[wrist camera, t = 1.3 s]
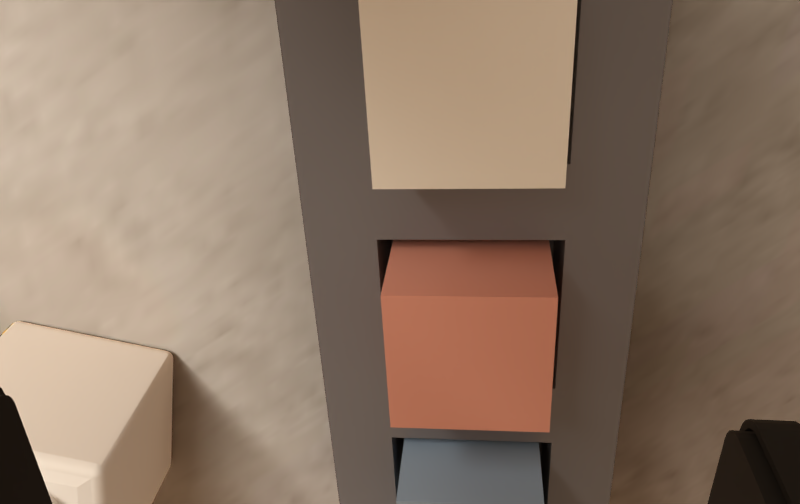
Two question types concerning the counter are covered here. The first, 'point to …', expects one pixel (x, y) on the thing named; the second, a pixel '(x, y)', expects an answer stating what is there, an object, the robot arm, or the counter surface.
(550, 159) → the off-white key
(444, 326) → the terracotta key
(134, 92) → the counter surface
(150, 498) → the medicine bottle
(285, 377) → the counter surface
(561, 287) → the key panel
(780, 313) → the counter surface
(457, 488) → the slate-blue key
